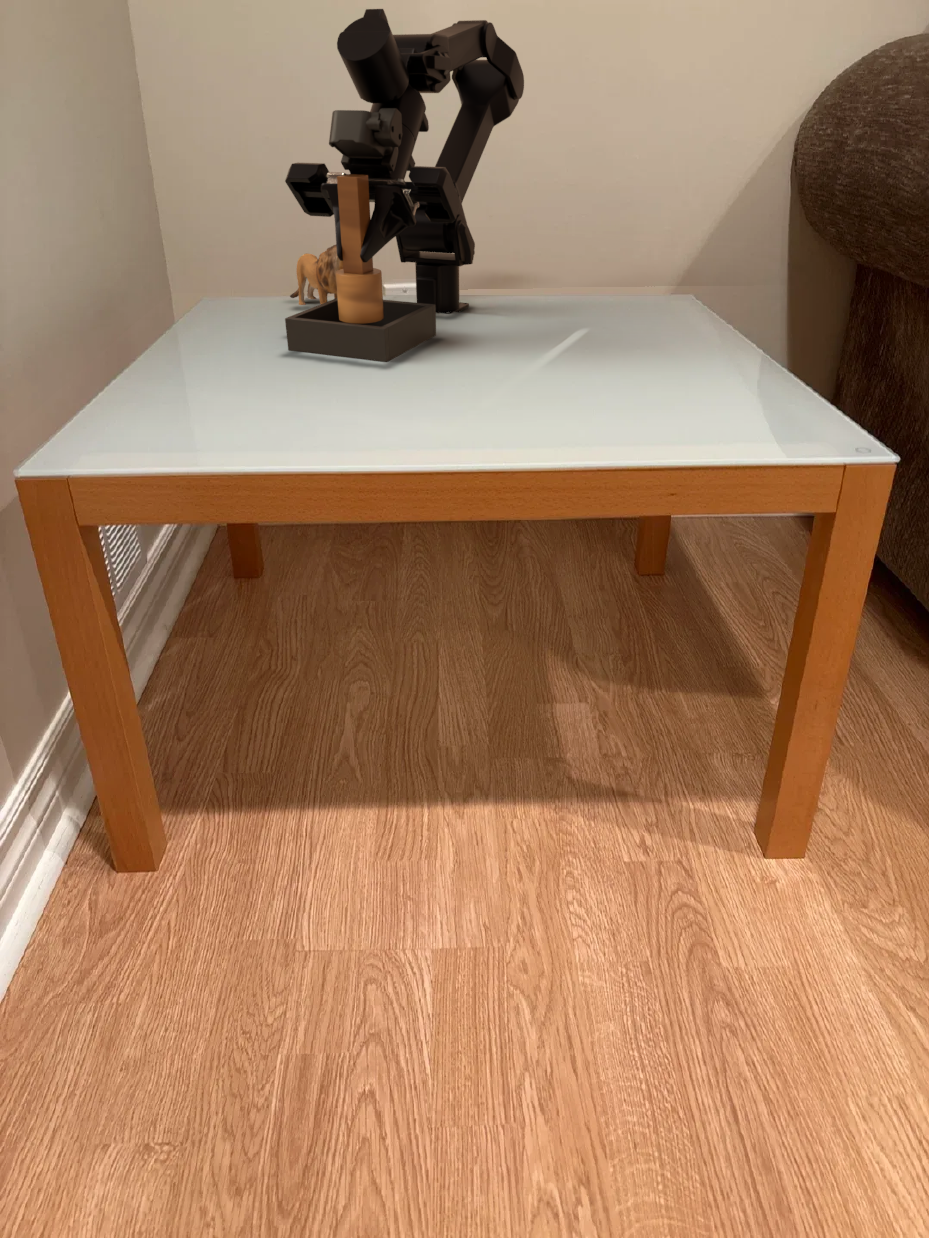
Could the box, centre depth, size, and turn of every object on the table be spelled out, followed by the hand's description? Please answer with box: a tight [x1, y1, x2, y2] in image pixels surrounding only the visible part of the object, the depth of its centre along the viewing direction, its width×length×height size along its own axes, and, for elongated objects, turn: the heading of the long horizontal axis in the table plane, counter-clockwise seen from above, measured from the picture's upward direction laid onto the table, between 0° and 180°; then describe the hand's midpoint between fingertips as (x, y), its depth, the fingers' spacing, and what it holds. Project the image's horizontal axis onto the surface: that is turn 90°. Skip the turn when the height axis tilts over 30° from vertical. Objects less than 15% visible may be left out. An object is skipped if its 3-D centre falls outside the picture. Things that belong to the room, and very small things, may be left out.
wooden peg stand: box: [336, 173, 384, 324], centre depth 99 cm, size 5×5×14 cm
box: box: [284, 298, 437, 363], centre depth 106 cm, size 13×13×4 cm
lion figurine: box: [289, 244, 343, 306], centre depth 121 cm, size 15×5×9 cm, turn 44°
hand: (351, 259), depth 98 cm, fingers closed on wooden peg stand, 2 cm apart
